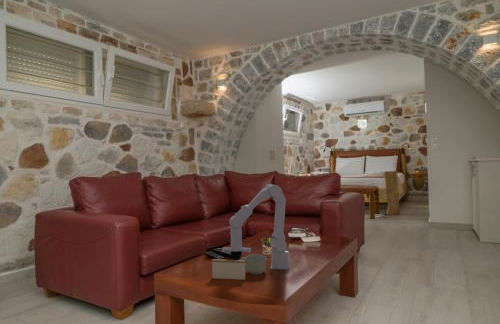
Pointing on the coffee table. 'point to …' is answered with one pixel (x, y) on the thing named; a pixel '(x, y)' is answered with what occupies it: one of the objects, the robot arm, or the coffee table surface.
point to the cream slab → (228, 269)
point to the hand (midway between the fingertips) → (236, 266)
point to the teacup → (255, 263)
